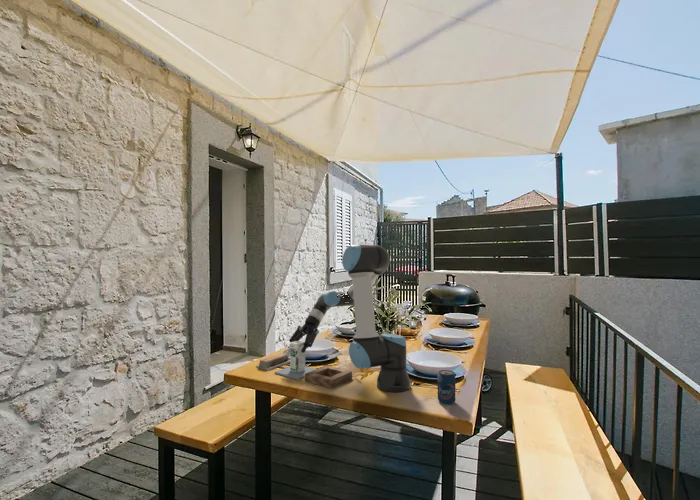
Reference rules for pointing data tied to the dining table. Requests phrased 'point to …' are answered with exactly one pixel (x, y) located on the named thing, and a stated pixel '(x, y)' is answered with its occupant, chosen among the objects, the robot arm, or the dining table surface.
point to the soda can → (446, 387)
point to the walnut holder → (322, 379)
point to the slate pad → (293, 375)
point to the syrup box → (296, 363)
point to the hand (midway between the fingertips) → (292, 356)
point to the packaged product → (273, 362)
